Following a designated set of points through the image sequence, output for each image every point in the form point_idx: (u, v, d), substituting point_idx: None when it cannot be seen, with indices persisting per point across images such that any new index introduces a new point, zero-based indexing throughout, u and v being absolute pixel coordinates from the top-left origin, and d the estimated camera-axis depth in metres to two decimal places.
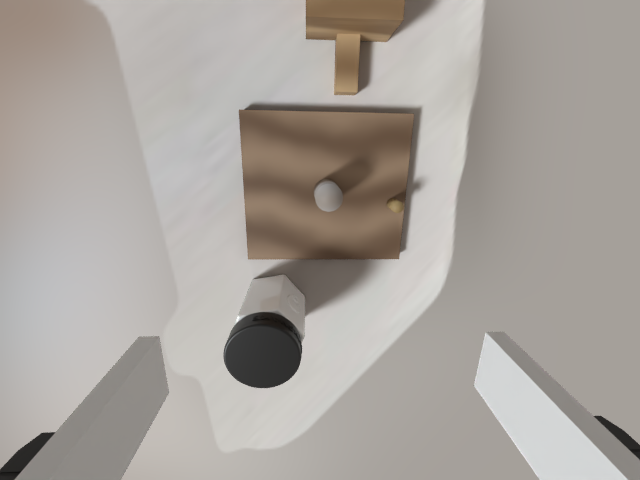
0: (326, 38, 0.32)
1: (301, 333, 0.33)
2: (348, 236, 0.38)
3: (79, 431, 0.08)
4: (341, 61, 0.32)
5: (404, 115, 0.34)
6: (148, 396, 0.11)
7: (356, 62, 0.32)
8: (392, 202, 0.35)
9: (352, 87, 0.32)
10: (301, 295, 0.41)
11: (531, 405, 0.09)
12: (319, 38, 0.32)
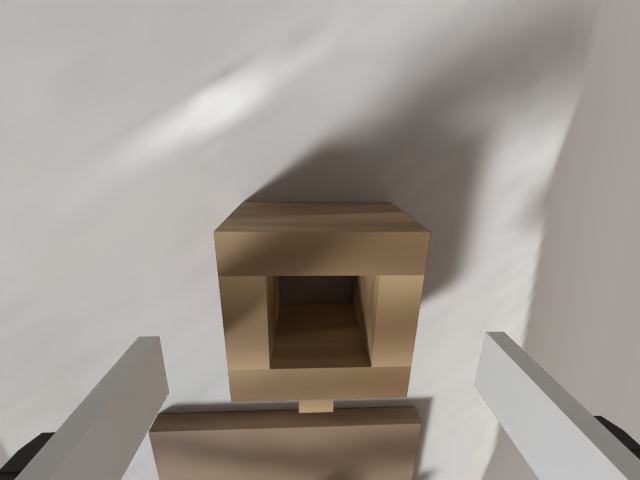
0: None
1: None
2: None
3: (79, 431, 0.08)
4: None
5: (406, 426, 0.22)
6: (148, 396, 0.11)
7: None
8: None
9: (325, 406, 0.21)
10: None
11: (530, 405, 0.10)
12: None
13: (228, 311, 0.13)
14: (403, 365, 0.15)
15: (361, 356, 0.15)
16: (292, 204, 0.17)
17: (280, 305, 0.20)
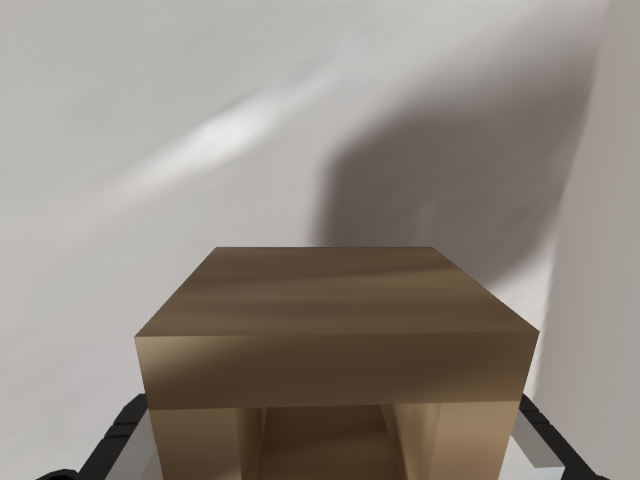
0: None
1: None
2: None
3: None
4: None
5: None
6: None
7: None
8: None
9: None
10: None
11: None
12: None
13: (171, 464, 0.07)
14: None
15: None
16: (288, 252, 0.12)
17: None
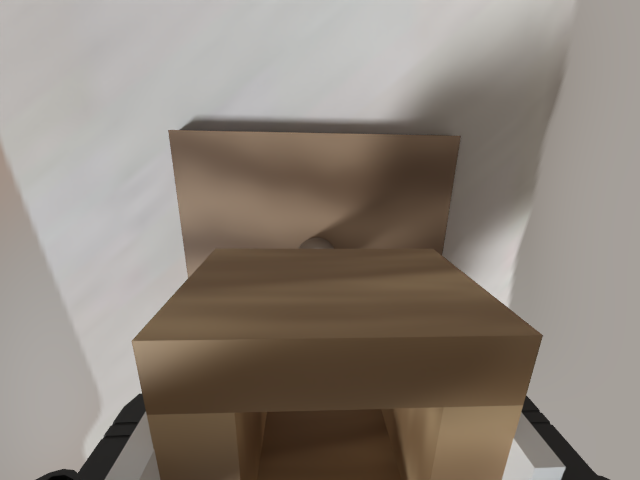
0: None
1: None
2: None
3: None
4: None
5: (444, 138, 0.21)
6: None
7: None
8: None
9: None
10: None
11: None
12: None
13: (169, 469, 0.07)
14: None
15: None
16: (288, 253, 0.11)
17: None
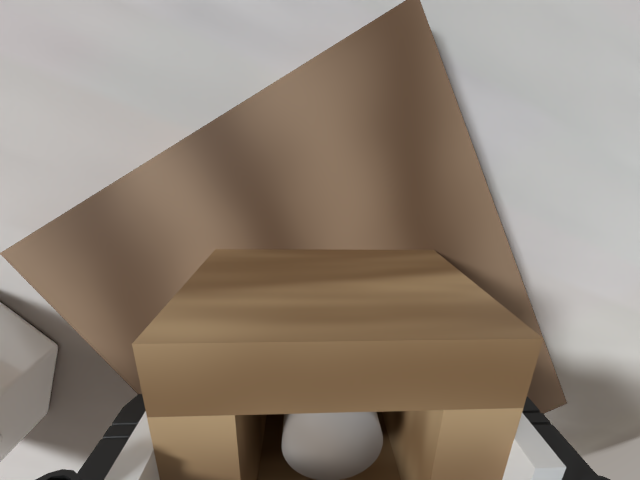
0: None
1: None
2: None
3: None
4: None
5: (557, 390, 0.15)
6: None
7: None
8: None
9: None
10: (35, 416, 0.15)
11: None
12: None
13: (170, 471, 0.07)
14: None
15: None
16: (288, 254, 0.11)
17: None
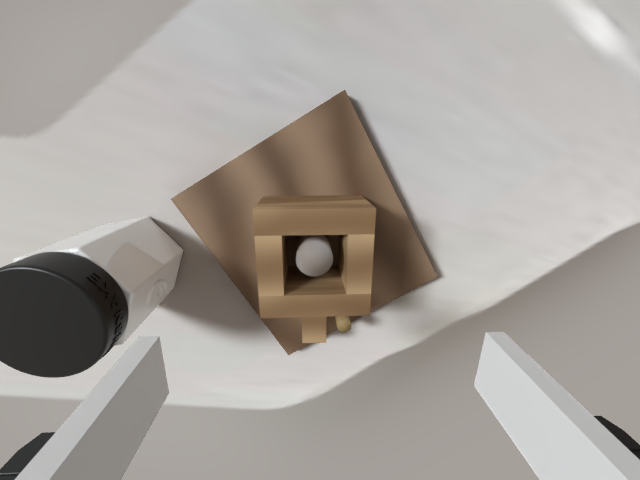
0: None
1: (122, 338, 0.22)
2: None
3: (79, 431, 0.08)
4: (306, 316, 0.29)
5: (431, 269, 0.30)
6: (148, 396, 0.11)
7: (324, 317, 0.29)
8: (345, 316, 0.29)
9: (320, 338, 0.30)
10: (172, 285, 0.30)
11: (531, 405, 0.10)
12: None
13: (259, 257, 0.22)
14: (366, 293, 0.24)
15: (340, 289, 0.24)
16: (296, 196, 0.27)
17: (288, 267, 0.29)
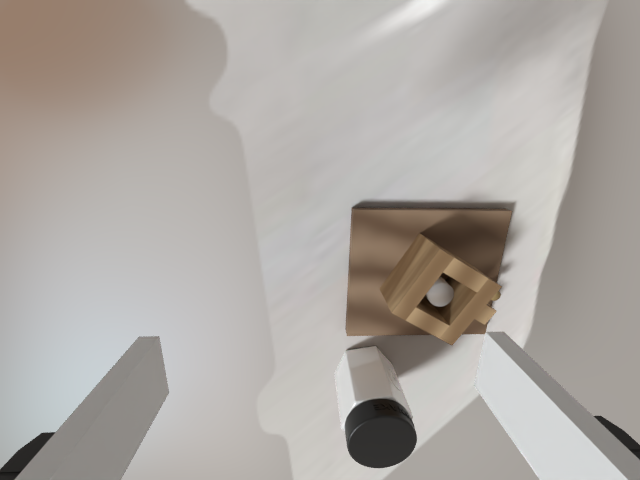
0: None
1: (410, 415, 0.36)
2: None
3: (79, 431, 0.08)
4: None
5: (503, 212, 0.37)
6: (148, 396, 0.11)
7: None
8: None
9: (491, 312, 0.39)
10: (391, 365, 0.44)
11: (530, 405, 0.10)
12: None
13: (419, 325, 0.34)
14: (485, 281, 0.33)
15: (471, 291, 0.34)
16: (393, 273, 0.38)
17: None
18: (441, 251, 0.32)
